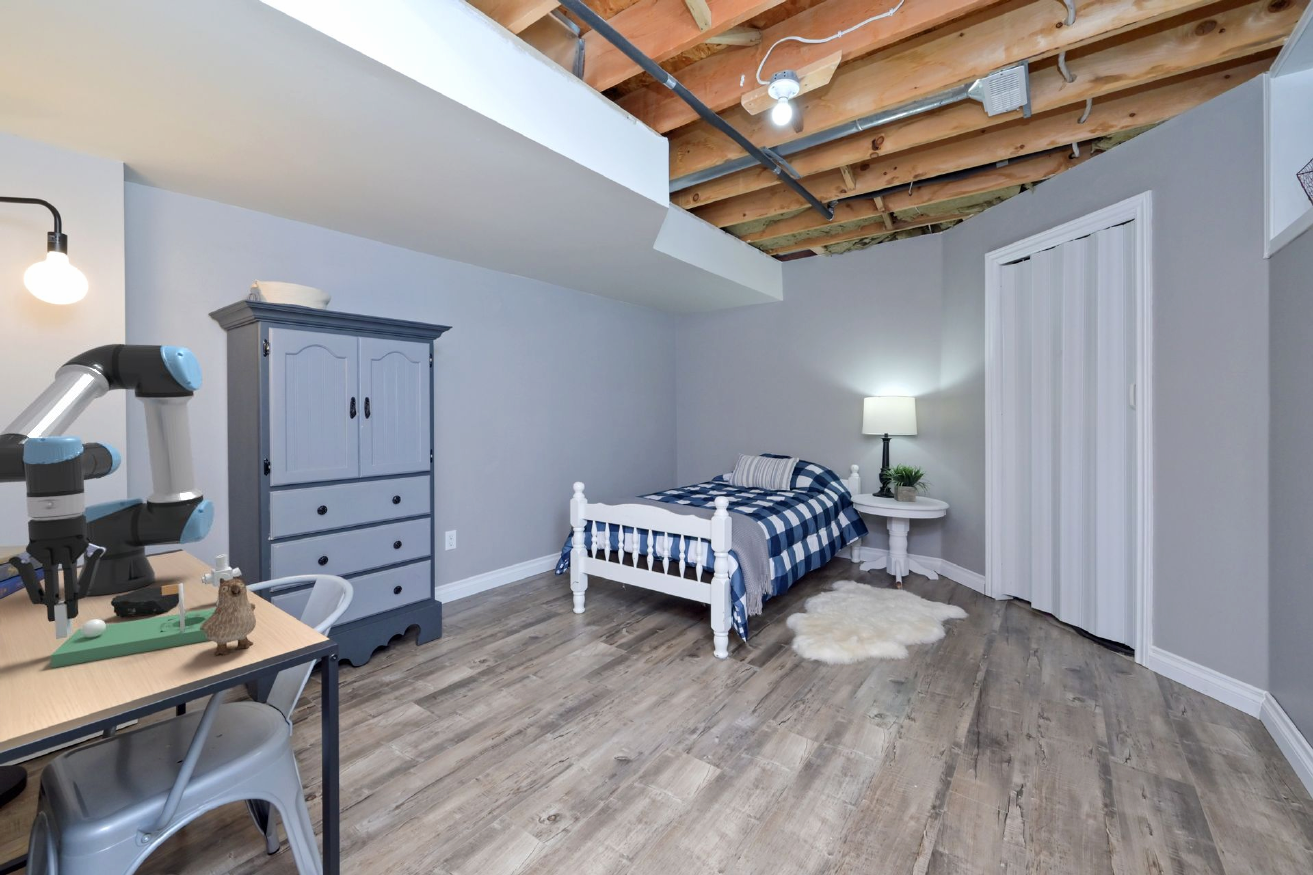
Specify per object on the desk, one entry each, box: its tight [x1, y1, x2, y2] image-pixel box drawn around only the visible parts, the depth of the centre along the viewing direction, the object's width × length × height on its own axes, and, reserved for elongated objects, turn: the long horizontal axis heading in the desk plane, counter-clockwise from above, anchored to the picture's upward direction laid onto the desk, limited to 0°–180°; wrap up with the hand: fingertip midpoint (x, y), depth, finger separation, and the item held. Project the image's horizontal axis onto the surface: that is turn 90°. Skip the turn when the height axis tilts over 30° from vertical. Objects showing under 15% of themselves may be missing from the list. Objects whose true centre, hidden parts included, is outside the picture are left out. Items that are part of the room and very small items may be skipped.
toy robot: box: [201, 553, 243, 607], centre depth 133 cm, size 4×8×12 cm, turn 138°
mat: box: [50, 583, 217, 669], centre depth 112 cm, size 14×24×12 cm, turn 122°
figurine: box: [199, 574, 257, 656], centre depth 107 cm, size 9×10×15 cm
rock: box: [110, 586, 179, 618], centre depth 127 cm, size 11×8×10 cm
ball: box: [80, 618, 107, 638], centre depth 108 cm, size 4×4×4 cm
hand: (64, 635), depth 106 cm, fingers closed
